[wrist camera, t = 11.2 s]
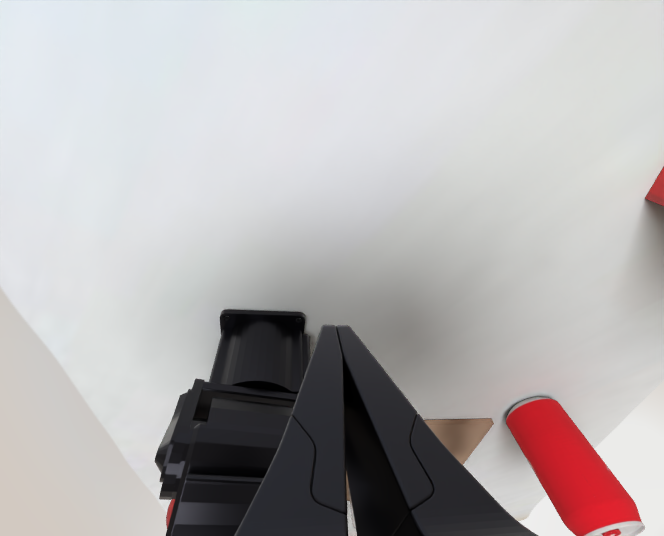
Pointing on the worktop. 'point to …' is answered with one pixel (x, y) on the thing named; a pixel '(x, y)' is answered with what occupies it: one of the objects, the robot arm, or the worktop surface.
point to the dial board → (456, 436)
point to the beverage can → (572, 471)
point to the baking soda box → (657, 190)
